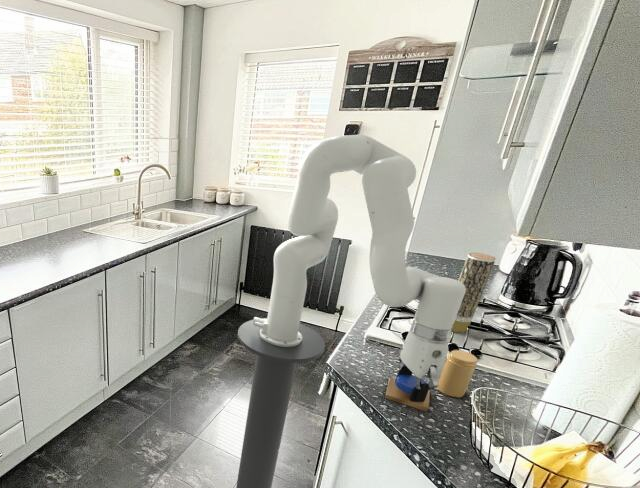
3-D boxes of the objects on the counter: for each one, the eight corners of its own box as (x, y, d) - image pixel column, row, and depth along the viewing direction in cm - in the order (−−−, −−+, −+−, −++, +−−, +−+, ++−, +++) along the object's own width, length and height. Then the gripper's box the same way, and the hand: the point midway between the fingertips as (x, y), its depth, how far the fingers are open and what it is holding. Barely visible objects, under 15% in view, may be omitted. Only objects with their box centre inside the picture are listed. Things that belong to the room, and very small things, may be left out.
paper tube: (471, 330, 137) (500, 258, 126) (459, 335, 134) (488, 261, 124) (449, 322, 143) (475, 251, 132) (437, 326, 140) (463, 254, 129)
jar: (435, 391, 108) (449, 357, 103) (436, 380, 112) (449, 347, 108) (464, 400, 105) (479, 365, 100) (464, 388, 109) (478, 354, 105)
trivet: (384, 398, 106) (385, 394, 105) (388, 380, 112) (389, 377, 112) (427, 411, 101) (428, 407, 100) (428, 392, 108) (430, 389, 107)
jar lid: (420, 382, 108) (422, 376, 107) (430, 397, 102) (432, 391, 101) (391, 378, 109) (393, 372, 108) (399, 392, 103) (401, 387, 103)
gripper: (471, 349, 90) (445, 415, 98) (426, 313, 106) (406, 373, 113) (434, 348, 91) (411, 413, 98) (395, 312, 106) (377, 371, 114)
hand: (409, 391), depth 106 cm, fingers closed on jar lid, 6 cm apart
